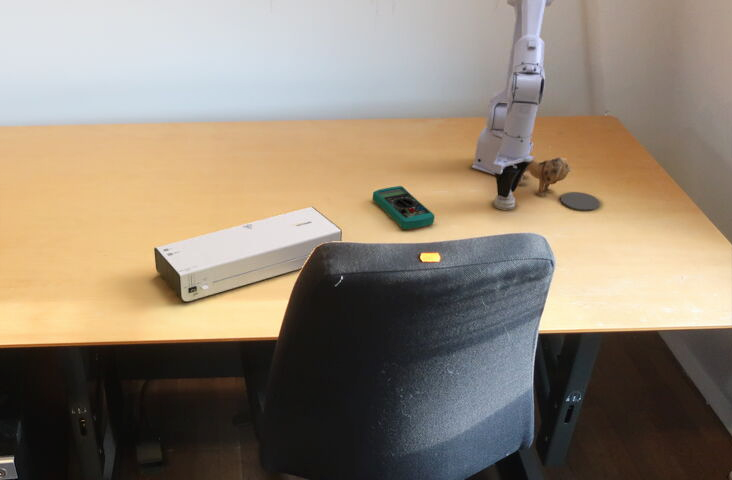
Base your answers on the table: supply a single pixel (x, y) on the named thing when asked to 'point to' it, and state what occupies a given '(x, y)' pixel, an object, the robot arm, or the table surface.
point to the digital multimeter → (403, 207)
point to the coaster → (580, 201)
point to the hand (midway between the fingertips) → (506, 193)
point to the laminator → (243, 253)
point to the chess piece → (505, 200)
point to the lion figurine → (547, 172)
